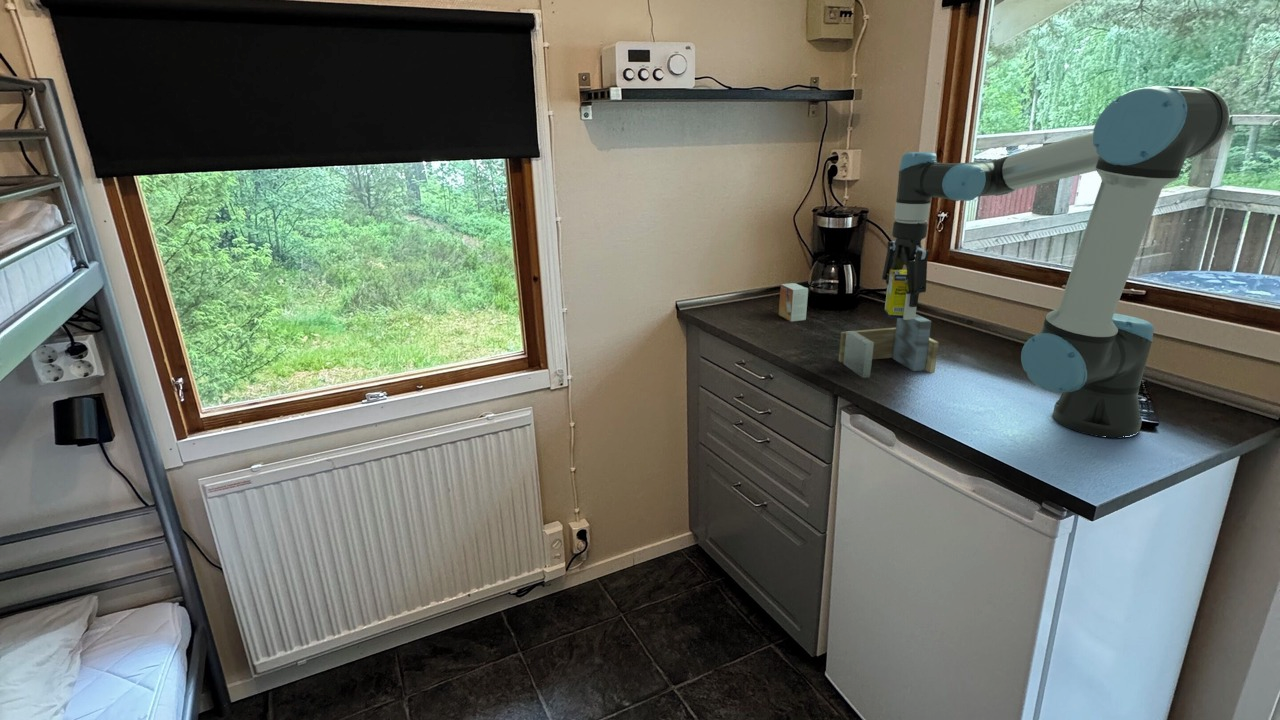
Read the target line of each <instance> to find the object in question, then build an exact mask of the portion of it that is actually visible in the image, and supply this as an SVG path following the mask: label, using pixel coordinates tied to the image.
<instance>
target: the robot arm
mask: <svg viewBox="0 0 1280 720" xmlns="http://www.w3.org/2000/svg"><path fill="white" fill-rule="evenodd" d="M1230 116H1231V114H1230V108H1229V106H1228V104H1227V101H1226V99H1224V98H1223V96H1222V95H1221V94H1219V93H1218V92H1217V91H1215V90H1212V89H1210V88H1206V87H1202V86H1165V85H1156V86H1155V85H1151V86H1147V87H1140V88H1135V89H1133V90H1130V91H1126V92H1125V93H1123V94H1121V95H1120V96H1118V97H1117V98H1116V99H1114V100H1112V101H1111V102H1110V103H1109V104H1108V105H1107V106H1106V107H1104V110H1103V111H1102V112H1101V113H1100V115H1099V117H1098V118H1097V120H1096V122H1095V123H1094V124H1095V125H1094V128H1093V130H1092V131H1090V132H1087V133H1086V132H1085V133H1082V134H1079V135H1075V136H1072V137H1069V138H1065V139H1061V140H1058V141H1055V142H1052V143H1049V144H1045V145H1042V146H1039V147H1036V148H1031V149H1027V150H1024V151H1021V152H1017V153H1014V154H1010V155H1008V156H1005V157H1000V158H997V159H993V160H989V161H973V162H971V161H970V162H958V163H957V162H956V163H954V162H953V163H952V162H938V160H937V153H936V152H932V151H910V152H905V153H904V154H903V155H902V156H901V158H900V159H901V160H900V166H899V170H898V179H897V181H898V184H897V193H896V198H895V199H896V200H895V208H894V216H893V219H894V222H893V225H892V227H893V228H892V234H891V235H892V237H893V238H895V240H891V241H890V240H889V241H888V242H887V252H886V256H885V262H884V267H883V270H882V271H883V272H882V276H881V279H882V280H883V281H885V284H886V292H885V293H886V294H885V296H886V297H885V302H884V303H885V304H884V311H885V310H886V301H887V293H888V284H889V275H890V270H891V269H892V270H897V269H900V270H903V268H904V266H905V267H906V268H905V269H906V270H907V278H908V288H909V291H908V292H906V299H905V307H904V315H903V319H904V320H911V319H915V315H916V314H917V309H918V308H917V307H918V302H919V297H920V294H922V293H926V292H927V276H928V275H927V274H928V258H929V257H930V256H929V255H930V250H928V249H924V248H922V240H923V239H926V238H927V233H928V226H929V225H928V224H929V223H928V222H927V221H928V220H929V215H930V209H931V202H932V198H938V199H939V198H940V199H947V200H952V201H954V202H958V201H967V202H968V201H973V200H974V199H976V198H978V197H988V196H989V197H990V196H994V197H996V196H1003V195H1007V194H1010V193H1013V192H1015V191H1017V190H1020V189H1025V188H1029V187H1033V186H1038V185H1042V184H1045V183H1051V182H1055V181H1059V180H1062V179H1067V178H1071V177H1075V176H1079V175H1083V174H1087V173H1093V172H1097V174H1098V175H1099V177H1100V178H1101V182H1100V185H1099V188H1098V191H1097V195H1096V198H1095V201H1094V203H1093V206H1092V208H1091V212H1090V215H1089V218H1088V220H1087V223H1086V226H1085V230H1084V233H1083V235H1082V239H1081V241H1080V244H1079V247H1078V250H1077V252H1076V256H1075V259H1074V261H1073V265H1072V268H1071V270H1070V273H1069V276H1068V279H1067V282H1066V285H1065V287H1064V291H1063V294H1062V297H1061V299H1060V301H1059V302H1060V303H1059V306H1058V307H1057V308H1055V309H1054V310H1052V311H1049V312H1047V314H1046V316H1045V318H1044V322H1043V324H1042V327H1041V330H1040V333H1039V332H1038V333H1037V334H1035V335H1033V336H1032V337H1030V338H1029V339H1028V340H1027V341H1026V342H1025V343H1024V345H1023V347H1022V349H1021V353H1020V354H1021V356H1020V359H1021V366H1022V368H1023V371H1024V372H1026V374H1027V377H1028V379H1029V380H1030V381H1031V382H1032V383H1033V384H1034V385H1036V386H1037V387H1038V388H1040V389H1042V390H1043V391H1047V392H1050V393H1054V394H1055V393H1057V394H1058V393H1059V394H1060V393H1062V394H1061V395H1060V397H1059V399H1058V400H1056V401H1055V404H1054V406H1053V410H1052V417H1053V419H1054V420H1055V421H1056V422H1057V423H1059V424H1060V425H1062V426H1064V427H1066V428H1068V429H1070V430H1072V429H1073V430H1072V431H1075V432H1078V431H1079V432H1078V433H1081V432H1083V433H1082V434H1085V433H1086V434H1085V435H1089V434H1092V435H1091V436H1093V435H1097V436H1096V437H1098V436H1106V437H1123V436H1124V437H1125V436H1130V435H1133V434H1136V433H1137V432H1139V433H1140V431H1139V430H1141V427H1142V423H1143V422H1142V421H1143V420H1142V416H1141V415H1140V404H1139V392H1140V387H1141V384H1142V380H1143V376H1144V373H1145V369H1146V365H1147V361H1148V358H1149V354H1150V349H1151V346H1152V344H1153V342H1154V339H1153V335H1154V332H1155V328H1154V325H1153V324H1152V323H1151V322H1150V321H1148V320H1145V319H1143V318H1139V317H1135V316H1131V315H1126V314H1122V313H1121V314H1120V313H1116V310H1117V307H1118V304H1119V302H1120V299H1121V296H1122V294H1123V292H1124V288H1125V287H1126V283H1127V281H1128V278H1129V276H1130V273H1131V270H1132V268H1133V265H1134V262H1135V260H1136V257H1137V255H1138V252H1139V249H1140V247H1141V244H1142V241H1143V239H1144V236H1145V234H1146V232H1147V229H1148V227H1149V223H1150V222H1151V219H1152V216H1153V213H1154V210H1155V209H1156V205H1157V204H1158V203H1157V202H1158V200H1159V198H1160V196H1161V193H1162V189H1163V188H1164V187H1165V186H1167V185H1169V184H1171V183H1173V182H1175V181H1177V180H1178V178H1179V176H1180V174H1181V172H1182V171H1181V170H1182V168H1183V166H1184V164H1185V161H1186V160H1187V159H1191V158H1195V157H1198V156H1200V155H1202V154H1204V153H1206V152H1208V151H1209V150H1210V149H1211V148H1213V147H1214V146H1215V145H1216V144H1217V143H1218V142H1220V140H1221V138H1223V136H1224V135H1225V133H1226V131H1227V129H1228V127H1229V123H1230ZM913 287H914V288H913ZM1106 437H1105V438H1106Z"/></svg>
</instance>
